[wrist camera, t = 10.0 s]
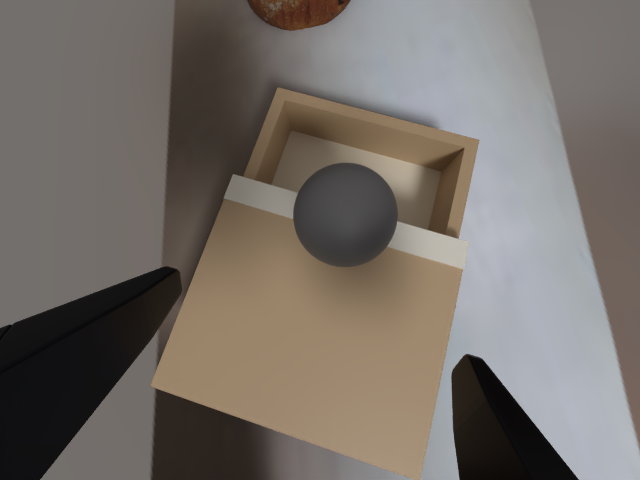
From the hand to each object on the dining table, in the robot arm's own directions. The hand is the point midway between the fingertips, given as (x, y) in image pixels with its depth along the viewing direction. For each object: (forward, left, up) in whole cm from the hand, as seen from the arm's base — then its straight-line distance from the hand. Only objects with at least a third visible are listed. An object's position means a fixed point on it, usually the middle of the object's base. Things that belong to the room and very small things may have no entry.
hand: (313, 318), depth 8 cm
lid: (0, 0, -7) cm, 7 cm away
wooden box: (+6, +5, -12) cm, 14 cm away
